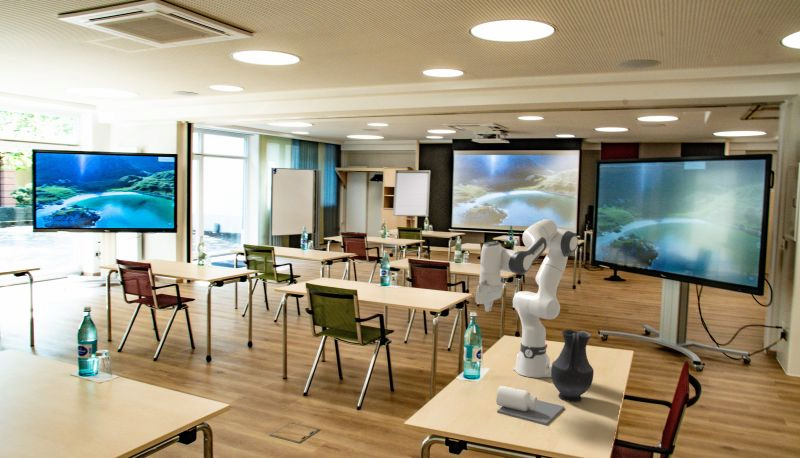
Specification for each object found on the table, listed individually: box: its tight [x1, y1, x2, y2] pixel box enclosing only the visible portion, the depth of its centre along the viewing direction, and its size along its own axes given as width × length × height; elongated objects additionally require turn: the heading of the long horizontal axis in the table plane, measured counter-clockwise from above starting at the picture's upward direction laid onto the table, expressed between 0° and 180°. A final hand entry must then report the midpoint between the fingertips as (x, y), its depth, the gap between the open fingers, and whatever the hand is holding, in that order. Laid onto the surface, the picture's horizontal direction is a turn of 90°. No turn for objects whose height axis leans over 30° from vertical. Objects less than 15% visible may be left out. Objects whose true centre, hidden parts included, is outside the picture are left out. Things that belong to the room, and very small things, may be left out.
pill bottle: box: [496, 385, 538, 411], centre depth 237 cm, size 8×8×15 cm
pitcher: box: [550, 329, 594, 403], centre depth 253 cm, size 17×21×30 cm
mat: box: [496, 399, 565, 426], centre depth 239 cm, size 22×20×1 cm
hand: (488, 311), depth 257 cm, fingers closed
